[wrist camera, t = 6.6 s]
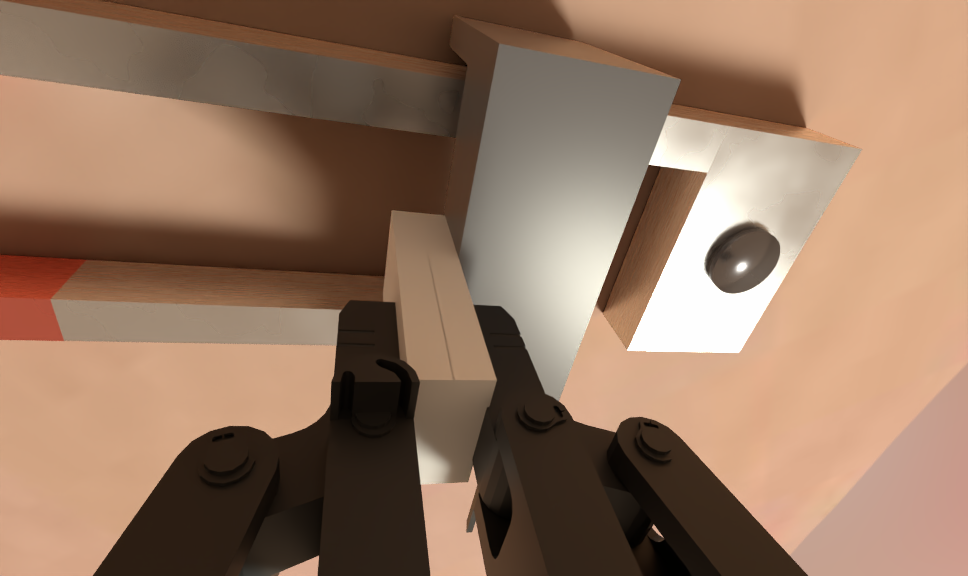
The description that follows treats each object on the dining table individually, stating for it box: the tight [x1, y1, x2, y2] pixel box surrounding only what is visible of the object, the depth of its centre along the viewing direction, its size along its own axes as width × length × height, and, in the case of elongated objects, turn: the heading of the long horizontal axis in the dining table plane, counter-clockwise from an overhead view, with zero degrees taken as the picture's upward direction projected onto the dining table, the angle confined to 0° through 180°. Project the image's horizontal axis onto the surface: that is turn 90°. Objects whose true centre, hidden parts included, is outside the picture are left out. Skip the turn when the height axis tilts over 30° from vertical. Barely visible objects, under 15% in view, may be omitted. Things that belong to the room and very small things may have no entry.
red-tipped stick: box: [0, 255, 385, 345], centre depth 16 cm, size 17×2×2 cm, turn 79°
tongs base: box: [0, 0, 862, 352], centre depth 16 cm, size 28×9×3 cm, turn 79°
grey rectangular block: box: [443, 15, 681, 401], centre depth 15 cm, size 4×12×6 cm, turn 169°
